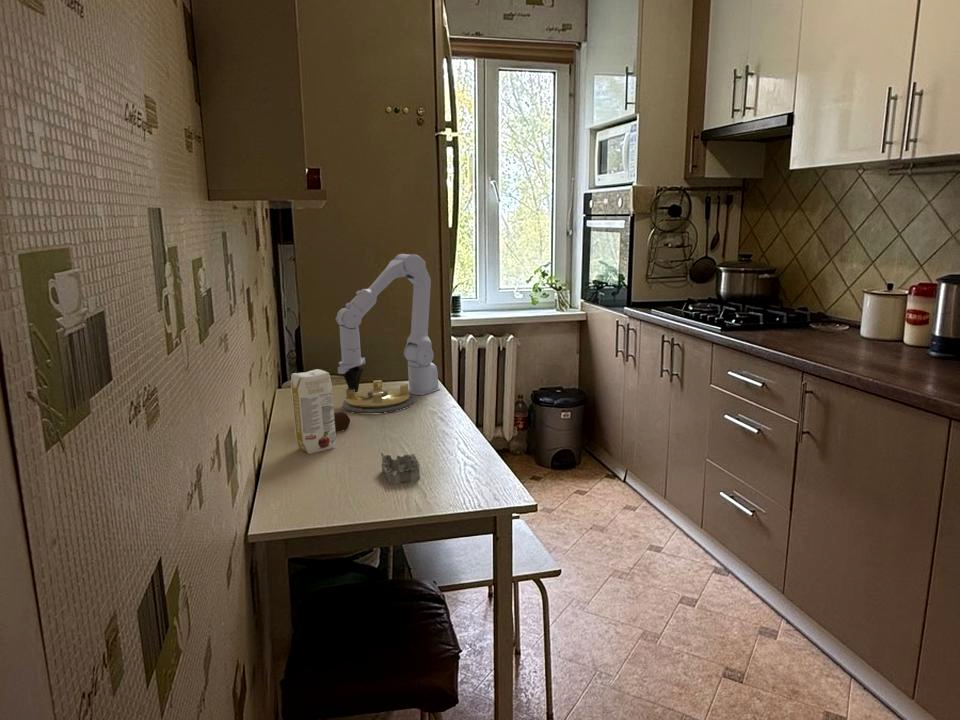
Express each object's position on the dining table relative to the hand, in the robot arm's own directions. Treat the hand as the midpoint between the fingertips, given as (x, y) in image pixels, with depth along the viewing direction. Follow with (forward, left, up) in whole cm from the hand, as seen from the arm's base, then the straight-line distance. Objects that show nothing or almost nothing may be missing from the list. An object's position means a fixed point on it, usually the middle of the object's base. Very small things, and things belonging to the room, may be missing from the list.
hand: (353, 391), depth 203 cm
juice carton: (+34, +23, -4) cm, 42 cm away
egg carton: (+36, +53, -4) cm, 64 cm away
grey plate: (-3, +7, -4) cm, 9 cm away
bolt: (+19, +11, -4) cm, 22 cm away
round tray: (-3, +7, -2) cm, 8 cm away
